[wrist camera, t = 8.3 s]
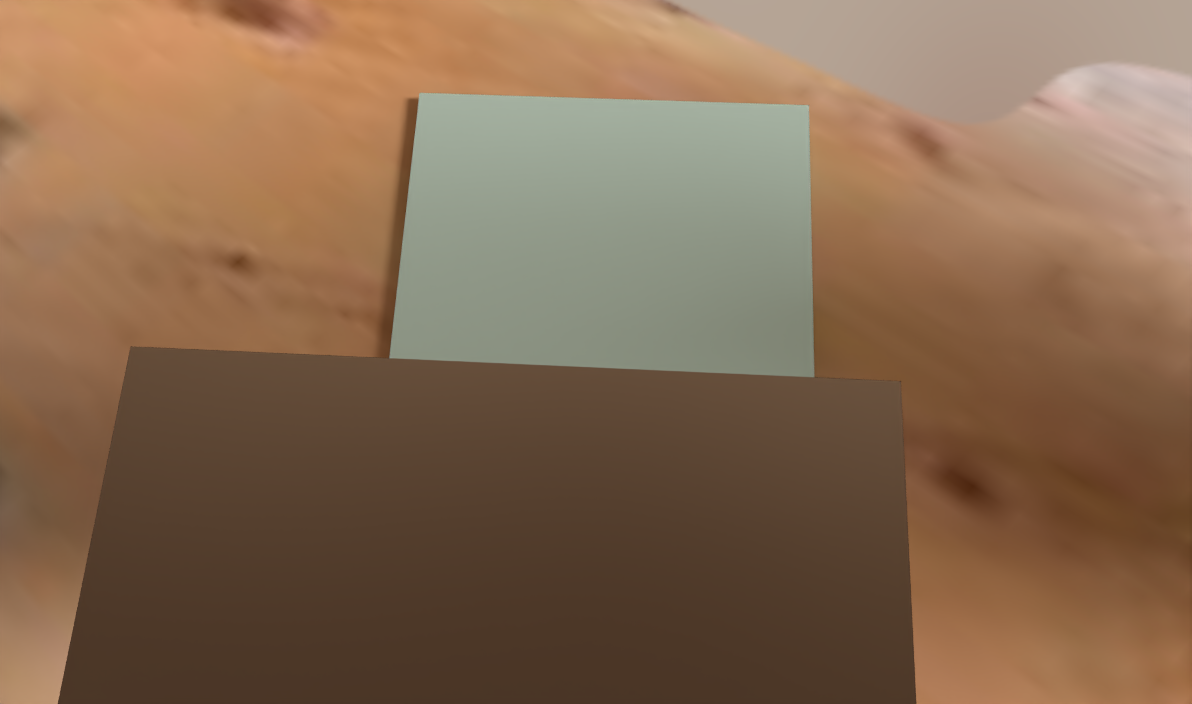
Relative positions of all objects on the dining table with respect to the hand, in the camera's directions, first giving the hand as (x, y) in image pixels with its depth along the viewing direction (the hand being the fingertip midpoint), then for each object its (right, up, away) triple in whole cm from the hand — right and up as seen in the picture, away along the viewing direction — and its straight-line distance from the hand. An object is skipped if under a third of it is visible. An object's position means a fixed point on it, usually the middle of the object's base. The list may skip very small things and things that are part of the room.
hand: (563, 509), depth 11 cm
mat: (+1, +1, +14) cm, 14 cm away
